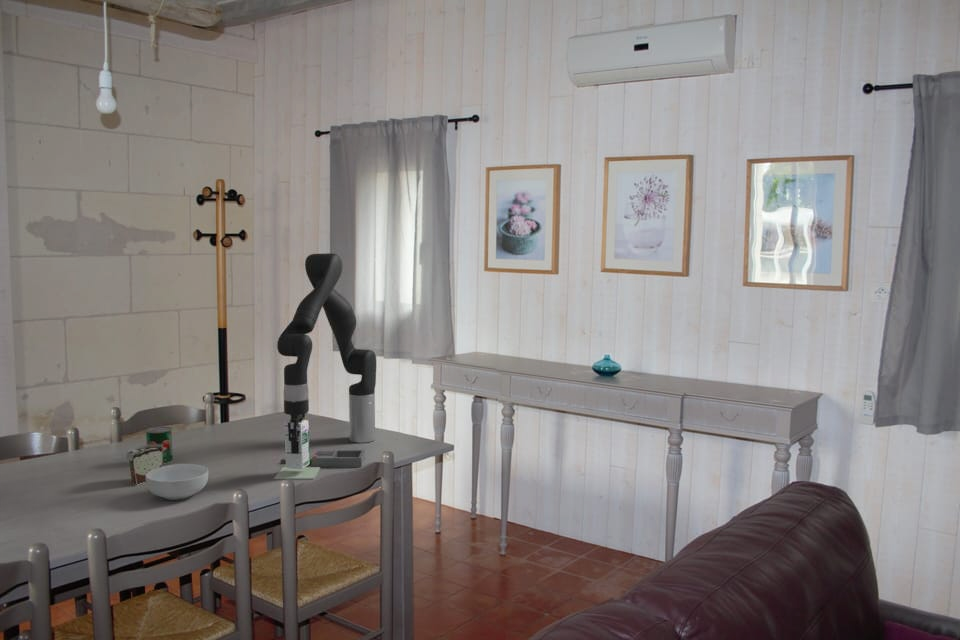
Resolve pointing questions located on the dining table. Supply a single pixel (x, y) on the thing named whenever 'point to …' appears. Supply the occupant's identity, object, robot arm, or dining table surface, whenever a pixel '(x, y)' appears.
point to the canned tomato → (161, 440)
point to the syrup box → (304, 454)
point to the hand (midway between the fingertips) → (297, 450)
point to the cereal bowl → (177, 480)
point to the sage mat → (297, 473)
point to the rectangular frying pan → (337, 458)
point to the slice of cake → (144, 461)
